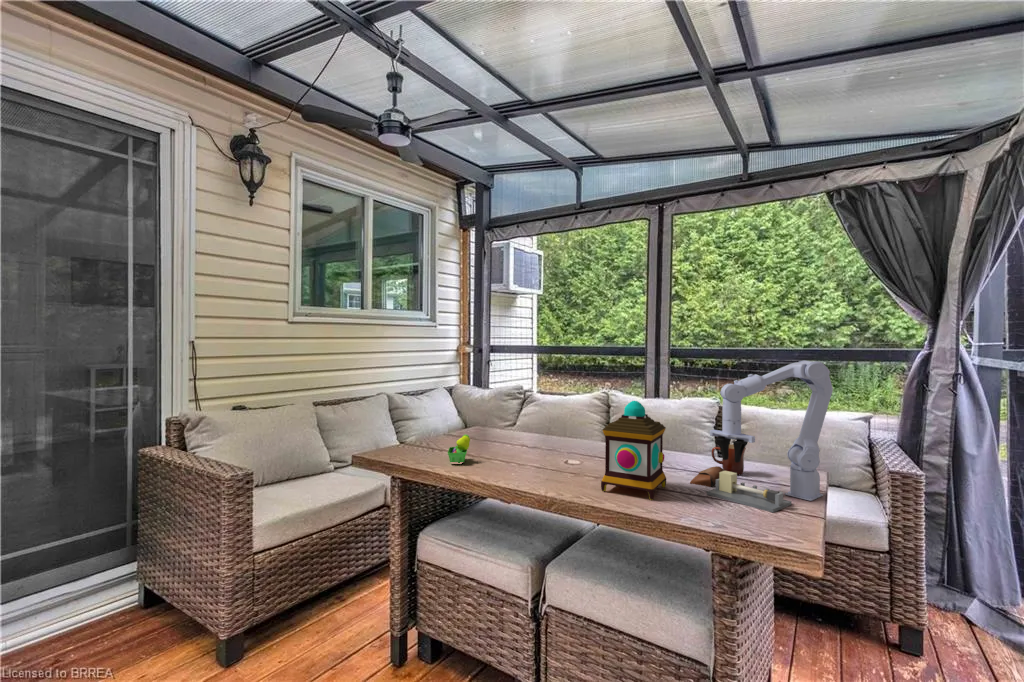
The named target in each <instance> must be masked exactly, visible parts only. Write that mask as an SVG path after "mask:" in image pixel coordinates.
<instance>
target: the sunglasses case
mask: <svg viewBox="0 0 1024 682" xmlns="http://www.w3.org/2000/svg"><path fill="white" fill-rule="evenodd" d="M722 471H723V467H721V466H712V467H709V468H705V469H704V470H700V471H699V472H698V474H697V475H696V476H694V477H693V478H692V479H691V480H690V481H689V484H690V485H695V486H700V487H701V486H702V487H708V488H714V487H716V479H719V472H722Z"/></svg>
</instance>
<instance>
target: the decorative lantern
mask: <svg viewBox="0 0 1024 682" xmlns="http://www.w3.org/2000/svg"><path fill="white" fill-rule="evenodd" d="M666 429H667V428H666V426H665V425H664V424H662V423H661V422H660V421H655V419H653V418H651V416H648V413H647V414H646V408H645V406H643V404H642V403H641V402H640V401H637V400H632V401H630V402H628V403H627V404H626V406H624V409H623V414H621V416H619V418H618V419H616V420H614V421H611V422H609V423H608V424H607V425H605V426H604V427H603V429H602V434H604V437H605V451H604V452H605V455H604V456H605V463H604V465H605V468H604V469H605V470H604V475H603V476H602V479H601V481H600V490H601V491H602V492H603V491H605V492H606V491H607V485H610V486H616V487H621V488H628V489H633V490H639V491H645V492H647V493H648V498H649V500H650V501H653V500H654V497H655V491H656V490H657V489H658V488H659V487H660V486H661V487H662V488H666V485H667V477H666V474H665V473H664V470H663V462H664V461H665V454H664V453H663V439H664V438H663V436H664V434H665V431H666Z"/></svg>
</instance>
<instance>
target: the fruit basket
mask: <svg viewBox="0 0 1024 682" xmlns="http://www.w3.org/2000/svg"><path fill="white" fill-rule="evenodd" d="M470 442H471V438H470V435H469V434H463V435H462V436H461V437H460V438H459V439H457V440H456V445H455V446H451V447H448V450H447V455H448V459H449V462H458V463H460V462H464V463H465V461H466V459H465V458H466V456H467V452H468V449H469V448H470V444H471V443H470Z"/></svg>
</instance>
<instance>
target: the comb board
mask: <svg viewBox="0 0 1024 682" xmlns="http://www.w3.org/2000/svg"><path fill="white" fill-rule="evenodd" d="M732 488H736V489H737V491H736V492H735V491H732V493H728V492H724V491H721V490H719V479H716V484H715V488H712V489H710V490H706V495H707V496H711V497H714V498H715V497H716V498H719V499H723V500H726V501H730V502H732V503H733V502H734V503H737V504H740V505H743V506H747V507H751V508H755V509H758V510H762V511H765V512H769V513H772V514H774V513H777V511H780V510H783V509H784V508H787V507H789V506H791V505H792V501H791V500H788V499H784V492H783V491H780V490H779V491H777V490H773V489H770V488H764V490H762V489H758V486H757V485H752V487H749V486H746V484H745V482H740V483H739V484H738V483H737V484H734V483H732Z"/></svg>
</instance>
